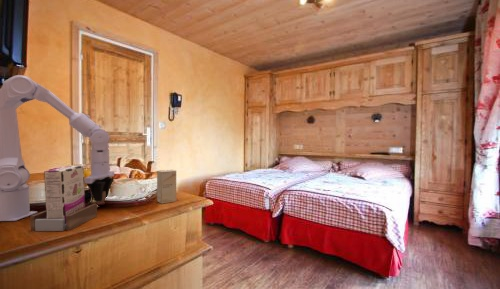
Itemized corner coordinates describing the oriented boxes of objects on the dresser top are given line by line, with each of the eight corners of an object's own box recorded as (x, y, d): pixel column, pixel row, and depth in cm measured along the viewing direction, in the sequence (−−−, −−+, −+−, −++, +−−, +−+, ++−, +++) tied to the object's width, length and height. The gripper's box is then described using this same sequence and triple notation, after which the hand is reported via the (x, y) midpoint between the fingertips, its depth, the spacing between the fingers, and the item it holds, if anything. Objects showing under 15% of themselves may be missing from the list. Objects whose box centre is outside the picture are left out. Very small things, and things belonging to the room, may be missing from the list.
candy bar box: (68, 216, 77) (67, 165, 76) (86, 215, 78) (84, 165, 77) (44, 230, 66) (42, 170, 65) (65, 229, 67) (63, 170, 66)
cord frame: (35, 230, 65) (34, 212, 65) (93, 204, 90) (93, 190, 90) (62, 230, 65) (62, 212, 65) (113, 204, 90) (113, 190, 90)
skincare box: (161, 204, 91) (161, 172, 90) (156, 201, 94) (156, 170, 94) (177, 201, 95) (176, 170, 95) (172, 198, 98) (171, 169, 98)
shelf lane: (30, 230, 66) (30, 216, 66) (63, 216, 77) (63, 203, 77) (70, 230, 66) (69, 216, 66) (97, 215, 78) (96, 203, 77)
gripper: (99, 164, 81) (100, 205, 81) (121, 160, 95) (122, 194, 96) (77, 164, 81) (78, 205, 81) (103, 160, 95) (104, 194, 96)
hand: (101, 199), depth 88 cm, fingers closed on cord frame, 3 cm apart
